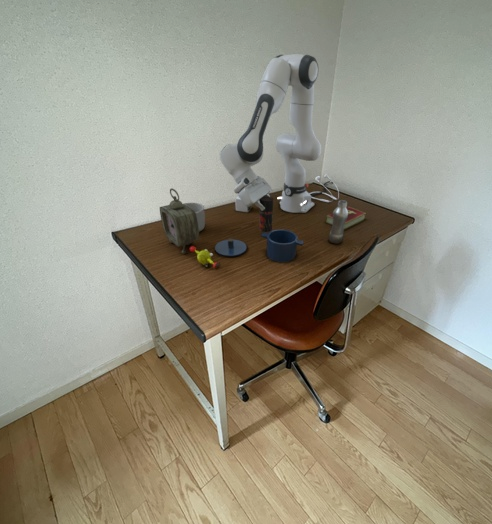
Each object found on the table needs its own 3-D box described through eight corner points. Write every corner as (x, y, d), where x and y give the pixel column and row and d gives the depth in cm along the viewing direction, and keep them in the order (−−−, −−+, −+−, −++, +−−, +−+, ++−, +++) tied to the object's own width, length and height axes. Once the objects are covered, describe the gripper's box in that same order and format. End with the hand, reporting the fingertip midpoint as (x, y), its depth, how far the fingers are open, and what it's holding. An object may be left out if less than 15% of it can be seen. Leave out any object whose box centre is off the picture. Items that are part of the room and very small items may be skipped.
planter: (193, 221, 134) (190, 200, 127) (211, 228, 129) (209, 207, 123) (173, 230, 125) (169, 208, 118) (192, 238, 120) (188, 215, 114)
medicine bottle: (247, 212, 146) (247, 191, 140) (235, 210, 147) (234, 189, 141) (251, 207, 152) (251, 187, 146) (239, 206, 153) (239, 185, 146)
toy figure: (226, 273, 100) (225, 258, 97) (213, 279, 97) (212, 264, 93) (198, 253, 110) (196, 239, 106) (186, 258, 106) (184, 244, 102)
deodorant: (273, 231, 125) (275, 200, 116) (261, 232, 123) (262, 201, 114) (269, 225, 129) (270, 195, 120) (257, 226, 127) (258, 196, 118)
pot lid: (224, 239, 121) (223, 230, 119) (251, 245, 118) (251, 236, 116) (209, 253, 111) (208, 244, 108) (238, 260, 108) (238, 250, 105)
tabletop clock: (166, 242, 115) (154, 185, 101) (185, 236, 121) (177, 181, 107) (182, 257, 107) (171, 197, 93) (202, 249, 112) (195, 192, 98)
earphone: (331, 199, 161) (316, 174, 162) (315, 213, 174) (301, 190, 175) (344, 195, 169) (329, 171, 170) (327, 208, 182) (314, 186, 183)
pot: (266, 242, 121) (267, 226, 116) (304, 251, 117) (306, 234, 113) (256, 256, 111) (256, 238, 106) (297, 266, 107) (299, 248, 103)
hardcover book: (325, 222, 143) (326, 215, 141) (346, 212, 156) (348, 205, 154) (343, 230, 137) (345, 223, 135) (364, 219, 150) (366, 212, 147)
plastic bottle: (325, 239, 128) (332, 199, 116) (337, 237, 130) (345, 198, 119) (331, 246, 123) (339, 205, 112) (344, 244, 125) (353, 204, 114)
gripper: (254, 178, 126) (272, 202, 129) (231, 191, 110) (252, 218, 113) (263, 170, 122) (281, 195, 125) (240, 183, 106) (262, 211, 109)
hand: (267, 206), depth 119 cm, fingers closed on deodorant, 6 cm apart
